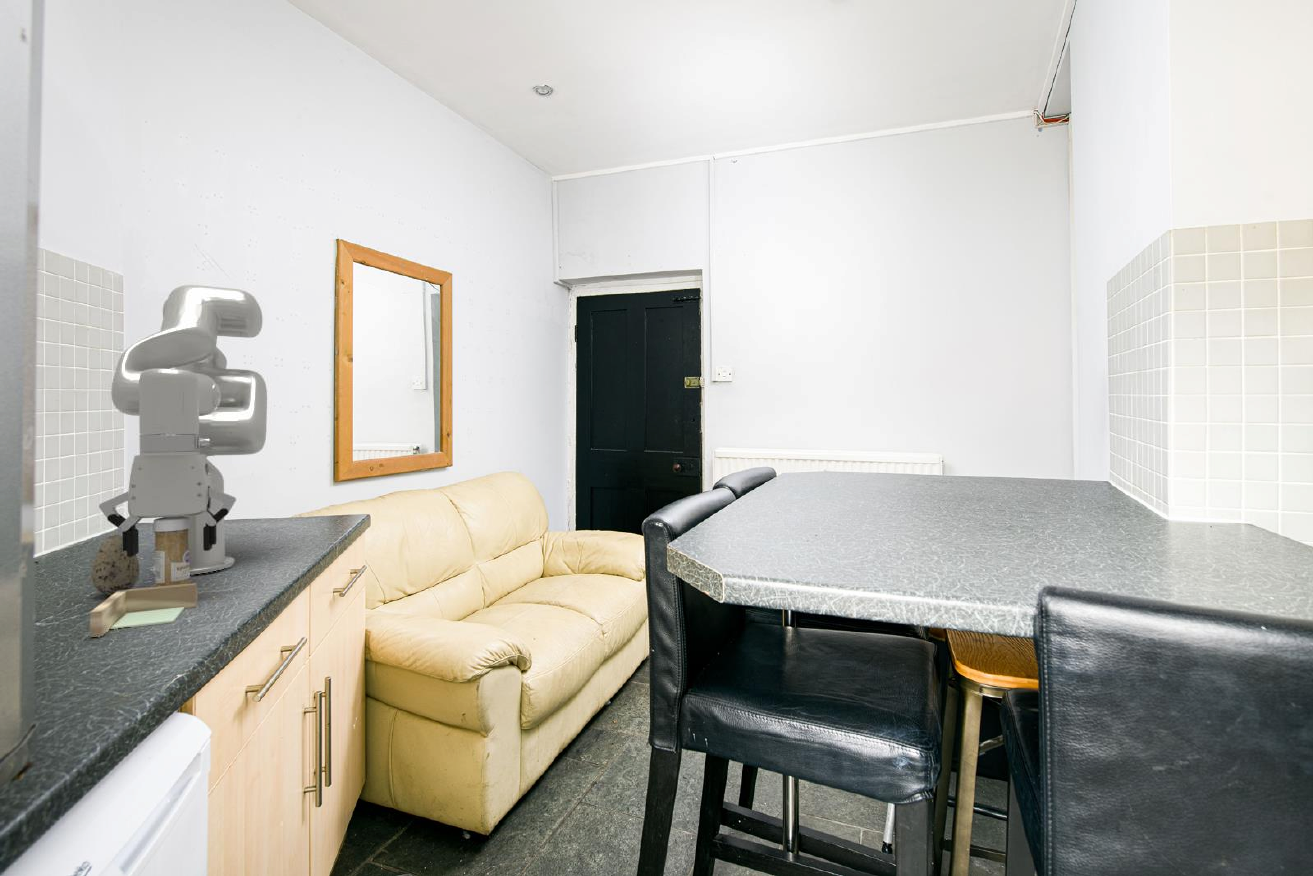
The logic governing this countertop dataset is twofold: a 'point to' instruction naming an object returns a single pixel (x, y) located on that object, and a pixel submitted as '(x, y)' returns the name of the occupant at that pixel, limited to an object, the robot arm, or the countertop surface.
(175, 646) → the countertop surface
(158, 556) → the sprinkles bottle
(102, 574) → the decorative egg
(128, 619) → the pad
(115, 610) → the corner walls
